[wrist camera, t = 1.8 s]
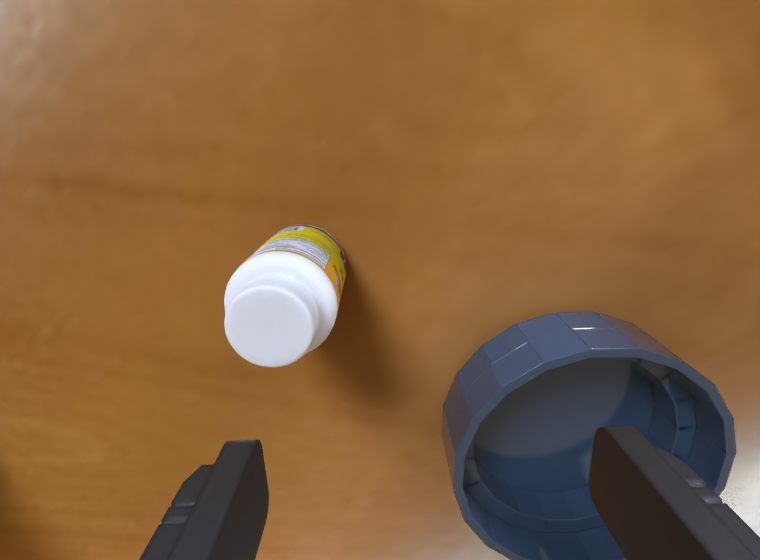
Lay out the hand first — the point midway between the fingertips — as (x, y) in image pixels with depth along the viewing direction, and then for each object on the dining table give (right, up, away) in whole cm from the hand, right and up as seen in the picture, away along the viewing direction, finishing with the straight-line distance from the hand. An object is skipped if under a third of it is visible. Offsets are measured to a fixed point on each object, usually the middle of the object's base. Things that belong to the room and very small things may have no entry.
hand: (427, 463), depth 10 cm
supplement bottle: (-6, +6, +18) cm, 20 cm away
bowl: (+12, -6, +22) cm, 25 cm away
